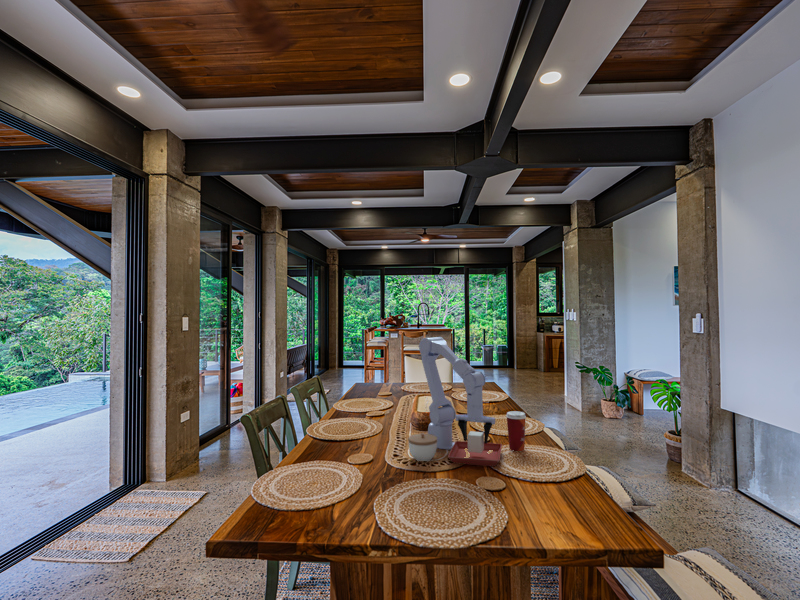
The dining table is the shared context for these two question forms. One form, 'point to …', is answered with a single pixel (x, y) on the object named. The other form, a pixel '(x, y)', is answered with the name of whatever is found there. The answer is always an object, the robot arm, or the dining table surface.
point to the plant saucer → (475, 454)
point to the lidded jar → (422, 446)
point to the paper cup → (516, 430)
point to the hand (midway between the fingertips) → (475, 441)
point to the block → (475, 442)
